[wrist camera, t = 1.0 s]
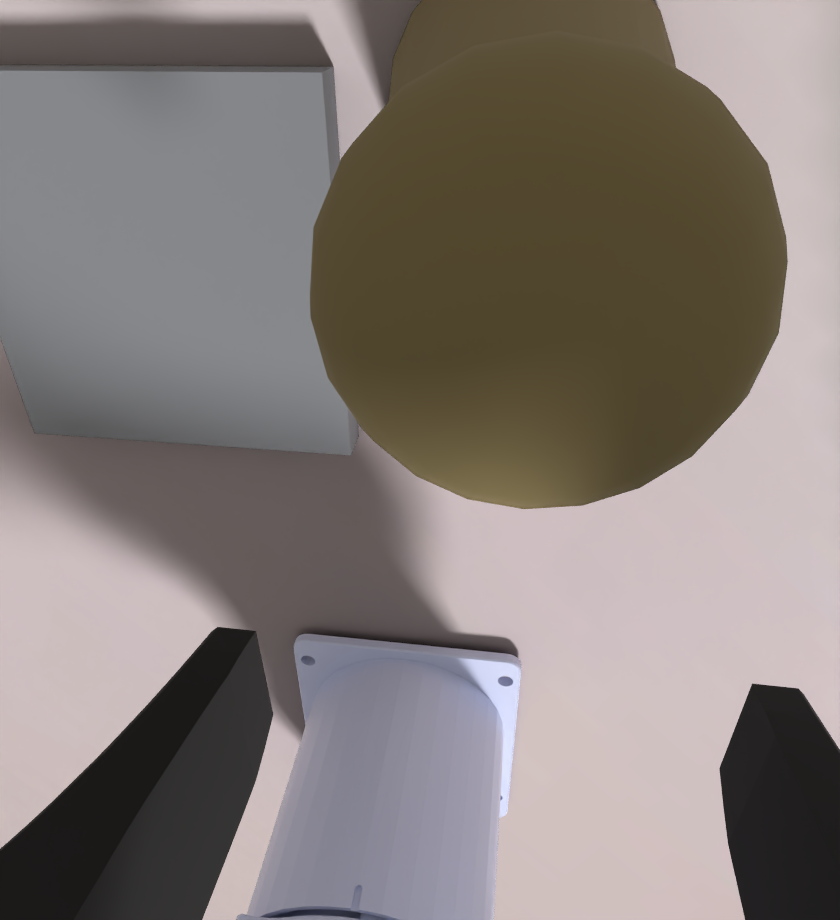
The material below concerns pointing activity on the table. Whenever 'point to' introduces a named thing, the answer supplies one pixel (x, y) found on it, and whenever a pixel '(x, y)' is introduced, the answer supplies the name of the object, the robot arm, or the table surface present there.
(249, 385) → the mat
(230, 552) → the table surface
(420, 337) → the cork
